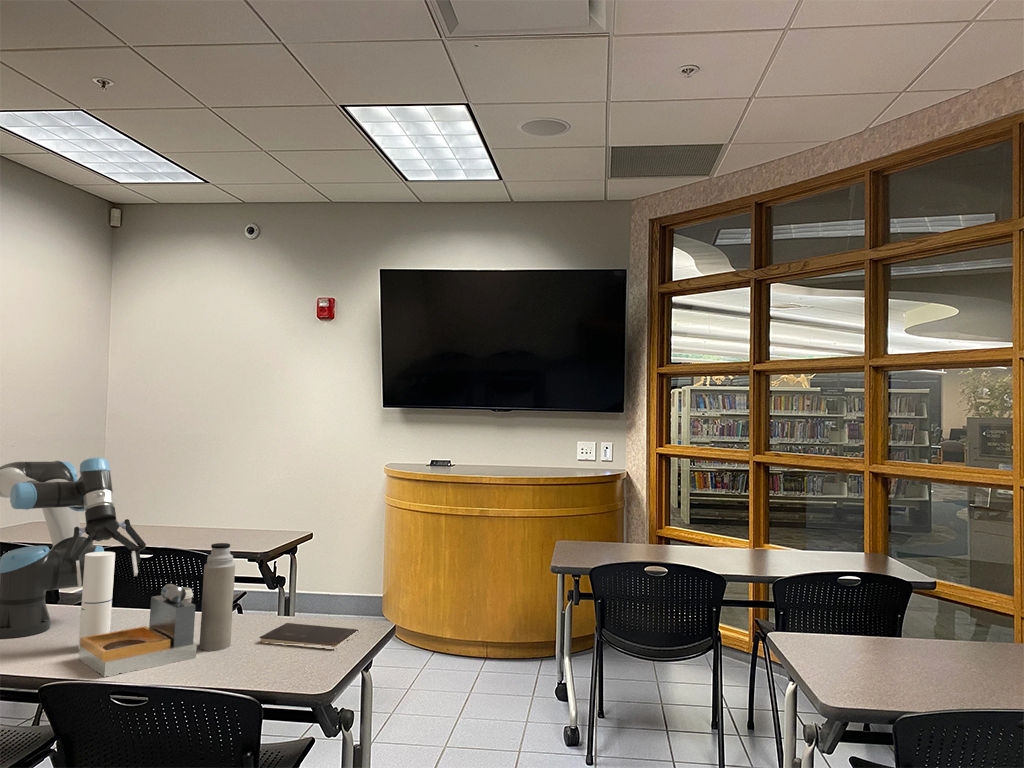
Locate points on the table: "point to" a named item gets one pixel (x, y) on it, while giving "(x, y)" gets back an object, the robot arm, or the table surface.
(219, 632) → the thermos bottle
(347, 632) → the hardcover book
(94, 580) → the cylindrical container
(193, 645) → the grey stand with tray
